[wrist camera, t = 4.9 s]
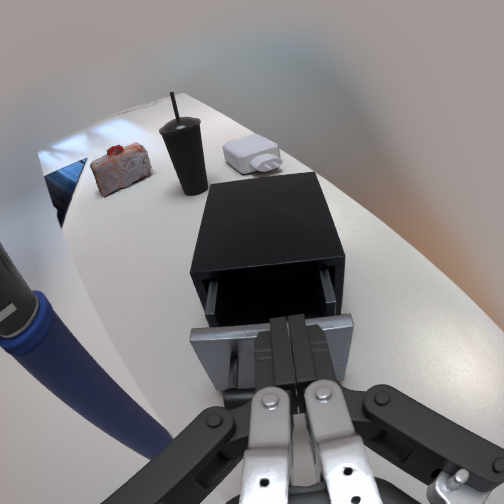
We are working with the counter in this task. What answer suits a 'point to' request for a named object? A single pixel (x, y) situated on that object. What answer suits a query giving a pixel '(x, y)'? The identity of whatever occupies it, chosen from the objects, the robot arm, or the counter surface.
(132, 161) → the food item
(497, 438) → the counter surface
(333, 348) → the drawer
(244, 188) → the cabinet
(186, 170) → the drinking cup
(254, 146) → the charger
